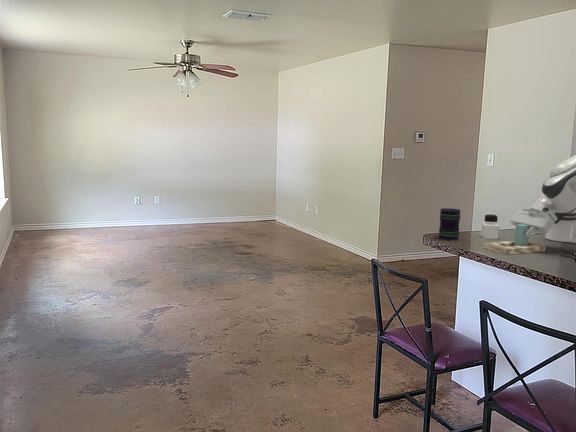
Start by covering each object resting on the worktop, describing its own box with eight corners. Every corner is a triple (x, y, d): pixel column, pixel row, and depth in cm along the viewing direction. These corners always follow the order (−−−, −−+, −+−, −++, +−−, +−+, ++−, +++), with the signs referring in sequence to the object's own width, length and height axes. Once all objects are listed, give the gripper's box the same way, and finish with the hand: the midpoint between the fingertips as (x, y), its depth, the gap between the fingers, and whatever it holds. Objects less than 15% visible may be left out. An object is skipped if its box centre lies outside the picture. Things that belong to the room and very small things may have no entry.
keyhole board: (521, 245, 238) (522, 240, 237) (544, 251, 225) (545, 246, 224) (483, 248, 231) (484, 242, 231) (505, 254, 218) (505, 249, 218)
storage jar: (447, 241, 247) (448, 211, 244) (434, 237, 256) (436, 208, 253) (463, 239, 250) (464, 210, 248) (450, 236, 259) (451, 207, 257)
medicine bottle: (498, 239, 252) (500, 216, 250) (483, 238, 253) (485, 215, 251) (495, 236, 259) (497, 214, 257) (481, 236, 260) (482, 213, 258)
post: (520, 245, 231) (522, 224, 230) (527, 247, 228) (529, 225, 226) (514, 245, 230) (515, 224, 228) (520, 247, 226) (522, 226, 225)
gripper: (518, 204, 238) (500, 225, 236) (554, 210, 219) (535, 233, 217) (524, 213, 240) (507, 234, 238) (560, 219, 221) (542, 242, 219)
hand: (521, 233), depth 228 cm, fingers closed on post, 4 cm apart
